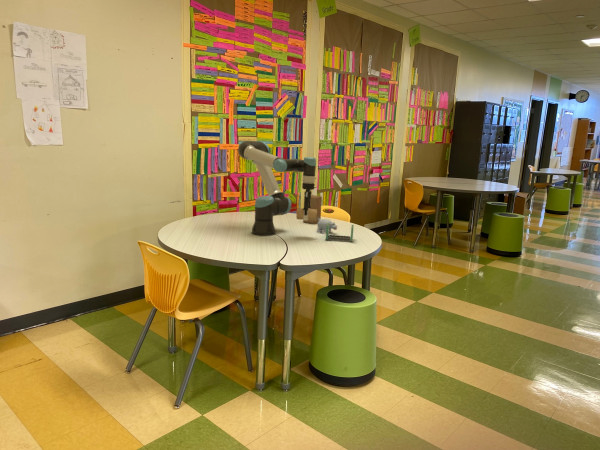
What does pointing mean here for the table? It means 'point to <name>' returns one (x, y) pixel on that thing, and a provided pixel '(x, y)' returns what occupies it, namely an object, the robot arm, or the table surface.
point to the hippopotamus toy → (323, 224)
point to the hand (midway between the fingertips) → (306, 219)
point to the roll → (311, 214)
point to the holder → (337, 237)
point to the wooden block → (315, 204)
